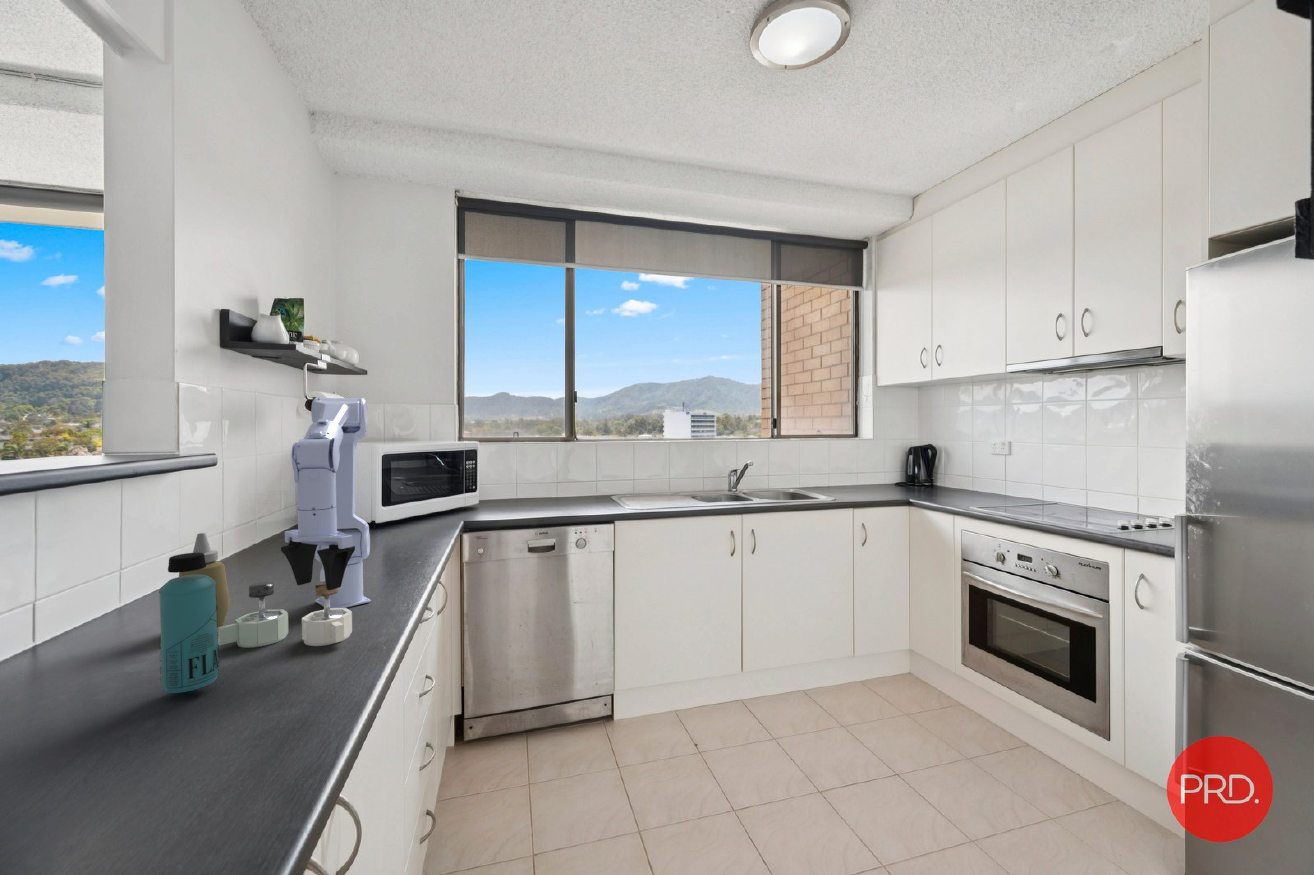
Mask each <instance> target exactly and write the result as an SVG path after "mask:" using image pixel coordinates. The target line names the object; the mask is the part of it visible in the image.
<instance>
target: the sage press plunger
mask: <svg viewBox="0 0 1314 875" xmlns="http://www.w3.org/2000/svg"><path fill="white" fill-rule="evenodd" d="M273 594H275V584H274V581H262V582H261V581H259V582H256V583H251V584H250V585H248V597H249V598H252V599H256V598H258V611H259V614H257V615H253V616H250V617H248V618H246V619H245V622H260V621H264V620H269V619H273V618H276V617H278V616H279V614H278V613H265V610H266V598H265V597H269V596H272V595H273Z"/></svg>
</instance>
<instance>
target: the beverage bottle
mask: <svg viewBox="0 0 1314 875" xmlns="http://www.w3.org/2000/svg"><path fill="white" fill-rule="evenodd" d="M205 567H206V562H205V555H204V553H193V552H185V553H180V554H175V555H172V556H170V557H169V558H168V567H167V572H168V573H174V574H176V573H177V574H179V572H188V571H194V570H199V569H202V568H205ZM215 585H216V582H215V580H213V579H212V578H210V577H209V576H207V575H188V576H181V577H179V576H178V577H173V578H171V579H169V580H168V581H167V582H165V583H164V584H163V585H162V586H161V587H160V589H159V590H158V594H159V596H158V597H159V616H160V617H159V618H160V619H159V620H160V621H159V622H160V623H159V624H160V640H159V642H160V650H159V662H160V667H159V670H160V673H159V678H160V681H161V682H160V683H159V684H160V685H161V688H162V690H163V691H164V692H165V693H167V694H168V693H169V694H177V693H179V694H180V693H186V692H191V691H194V690H198V689H201V688H204V687H206V686H209V685H211V684H212V683H214V682H215V681H216V680H217V678H218V676H219V674H220V665H219V664H220V661H219V650H220V645H219V644H218V639H219V638H218V637H219V636H218V628H217V626H218V625H217V623H218V622H217V615H216V610H217V611H218V607H217V608H216V598H217V597H216V592H215ZM217 602H218V601H217Z"/></svg>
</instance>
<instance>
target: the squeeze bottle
mask: <svg viewBox="0 0 1314 875" xmlns="http://www.w3.org/2000/svg"><path fill="white" fill-rule="evenodd" d="M196 535H197V536H196V538H195V542H194V547H193V551H192V553H204V555H205V562H206V567H205V568H202V569H199V570H194V571H188V572H178V577H181V576H188V575H207V576H209V577H210V578H212V579H213V580H215V582H216V585H215V592H216V597H217V598H216V608H217V607H218V611H217V610H216V615H217V622H218V623H217V625H218V626H217V629H218V627H221V626H224V624H225V621H226V618H227V615H228V614H229V610H230V606H231V599H230V594H229V586H228V580H227V573H226V568H225V567H226V566H225V563H223V562H221V561H219V560H218V559H219V552H218V551H217V550H213V549H212V550H211V546H210V544H209V540H208V538H207V534H206V533H205V532H199V533H197V534H196ZM217 601H218V602H217Z"/></svg>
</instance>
